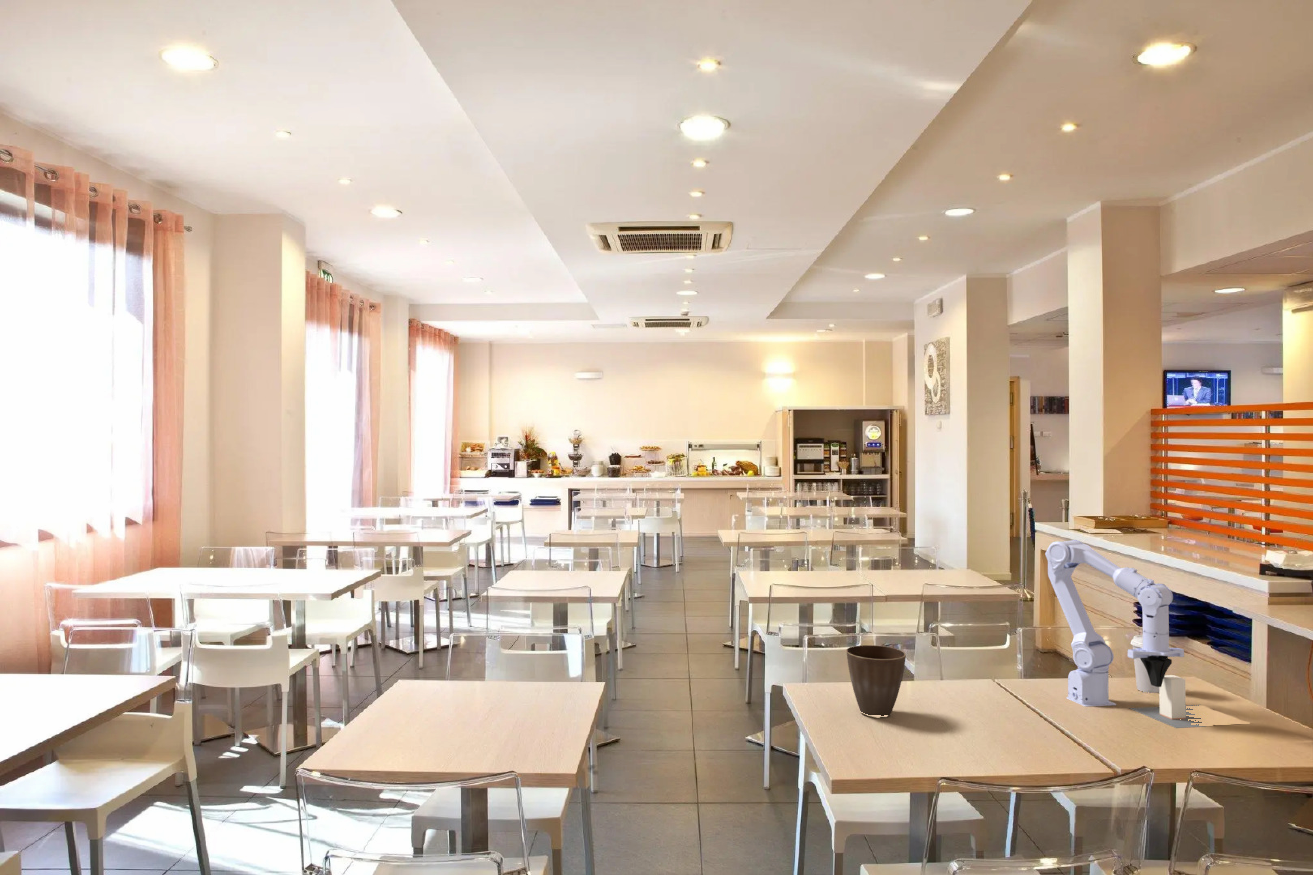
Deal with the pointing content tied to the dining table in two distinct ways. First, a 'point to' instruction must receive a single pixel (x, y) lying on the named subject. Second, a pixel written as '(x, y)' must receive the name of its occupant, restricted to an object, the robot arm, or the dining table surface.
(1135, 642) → the coffee cup
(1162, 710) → the block
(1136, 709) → the mat
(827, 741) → the dining table surface
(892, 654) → the plant pot
